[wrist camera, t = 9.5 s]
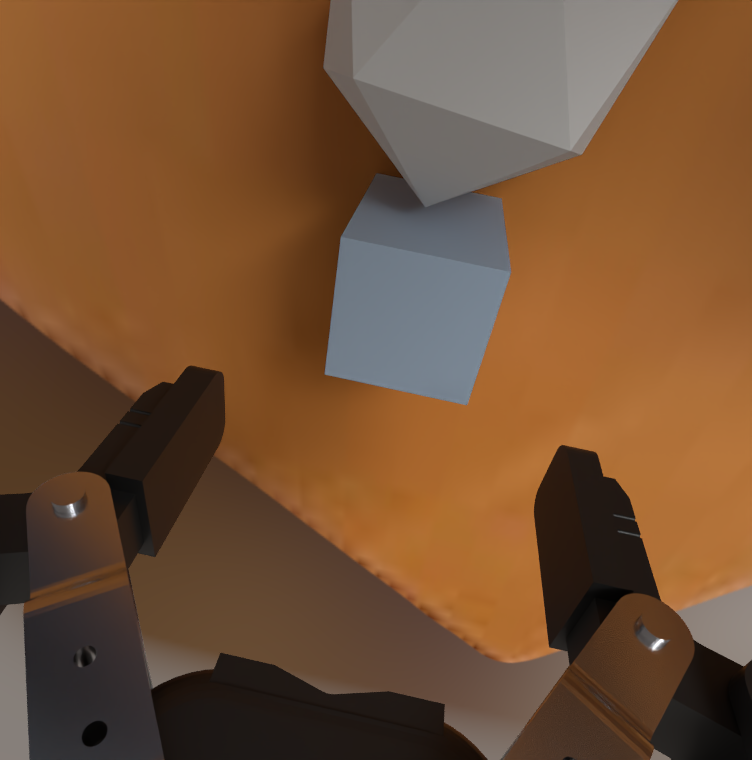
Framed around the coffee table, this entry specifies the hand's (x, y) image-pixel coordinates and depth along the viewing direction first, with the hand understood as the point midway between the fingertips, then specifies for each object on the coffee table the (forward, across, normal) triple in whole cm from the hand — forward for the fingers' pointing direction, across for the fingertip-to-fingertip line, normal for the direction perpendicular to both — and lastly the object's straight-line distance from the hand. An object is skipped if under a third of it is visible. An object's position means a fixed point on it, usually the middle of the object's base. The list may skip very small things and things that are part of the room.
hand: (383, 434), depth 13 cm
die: (+7, 0, -3) cm, 8 cm away
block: (+12, 0, 0) cm, 12 cm away
